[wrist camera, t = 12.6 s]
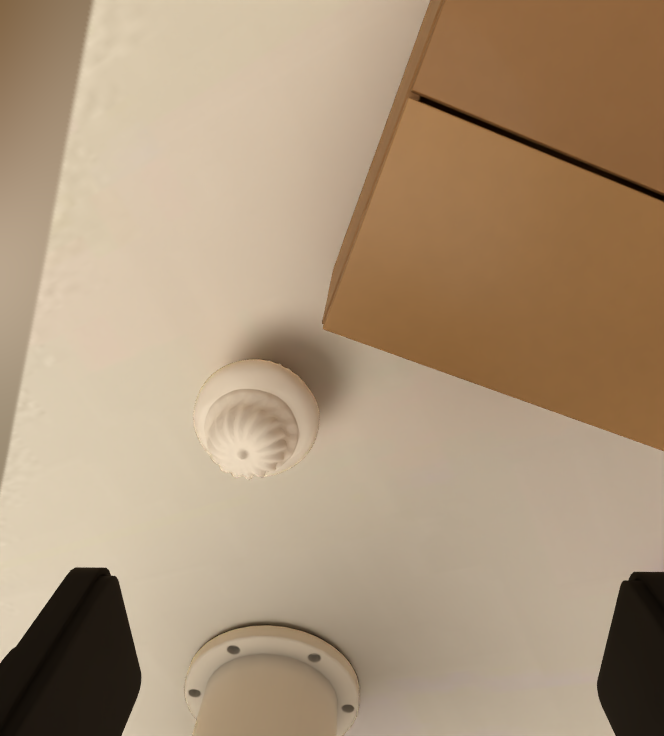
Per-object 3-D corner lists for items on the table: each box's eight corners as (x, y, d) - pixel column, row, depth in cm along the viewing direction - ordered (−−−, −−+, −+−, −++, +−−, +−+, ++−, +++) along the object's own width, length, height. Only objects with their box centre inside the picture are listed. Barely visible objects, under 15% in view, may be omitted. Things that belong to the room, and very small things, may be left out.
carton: (579, 360, 26) (707, 469, 16) (333, 269, 25) (320, 330, 15) (750, 76, 21) (1075, 0, 11) (450, -57, 20) (540, -266, 10)
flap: (701, 461, 17) (708, 467, 16) (323, 326, 16) (322, 329, 15) (839, 275, 14) (850, 277, 14) (406, 98, 13) (408, 96, 13)
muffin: (233, 447, 29) (198, 528, 22) (197, 351, 27) (146, 410, 20) (336, 426, 28) (330, 504, 21) (307, 325, 26) (291, 378, 19)
